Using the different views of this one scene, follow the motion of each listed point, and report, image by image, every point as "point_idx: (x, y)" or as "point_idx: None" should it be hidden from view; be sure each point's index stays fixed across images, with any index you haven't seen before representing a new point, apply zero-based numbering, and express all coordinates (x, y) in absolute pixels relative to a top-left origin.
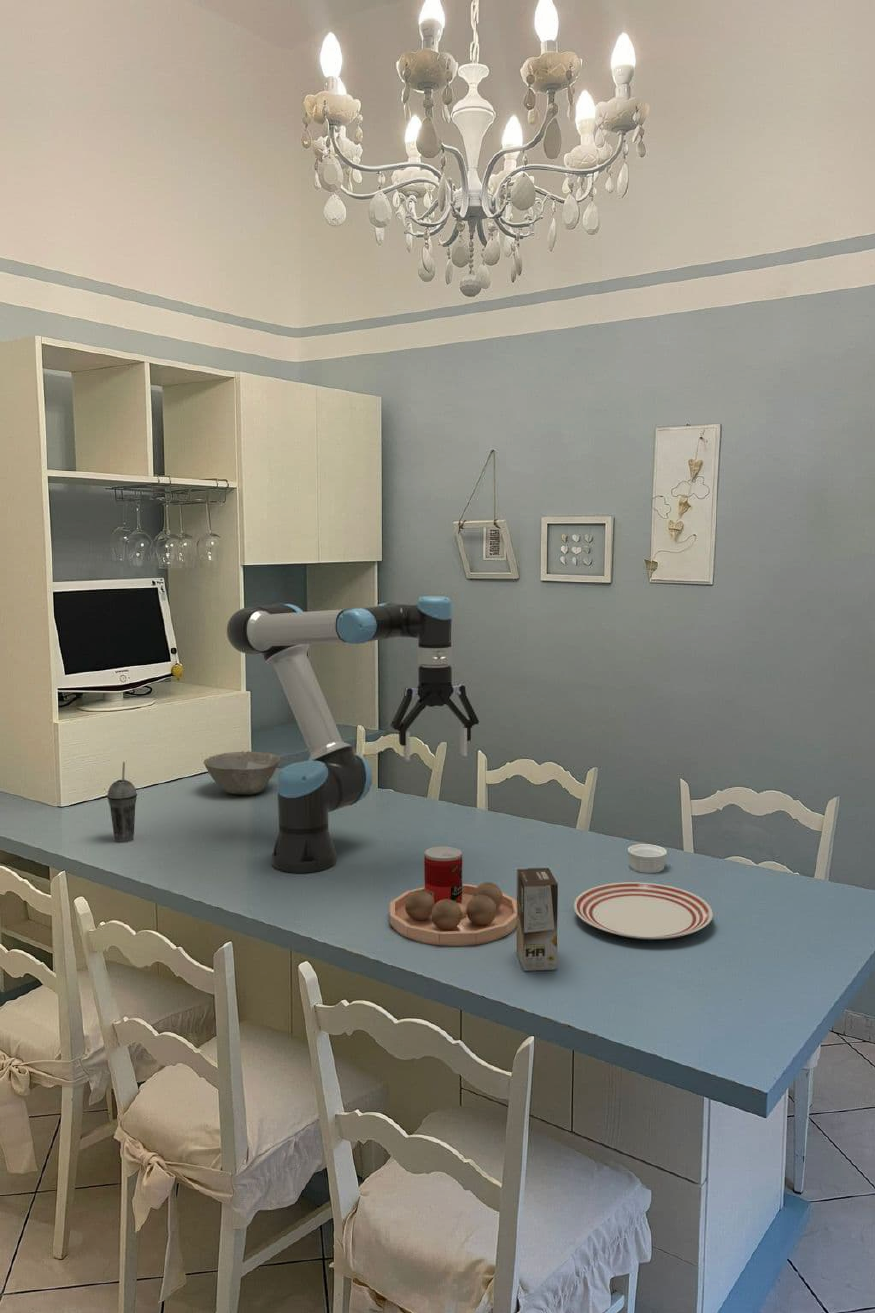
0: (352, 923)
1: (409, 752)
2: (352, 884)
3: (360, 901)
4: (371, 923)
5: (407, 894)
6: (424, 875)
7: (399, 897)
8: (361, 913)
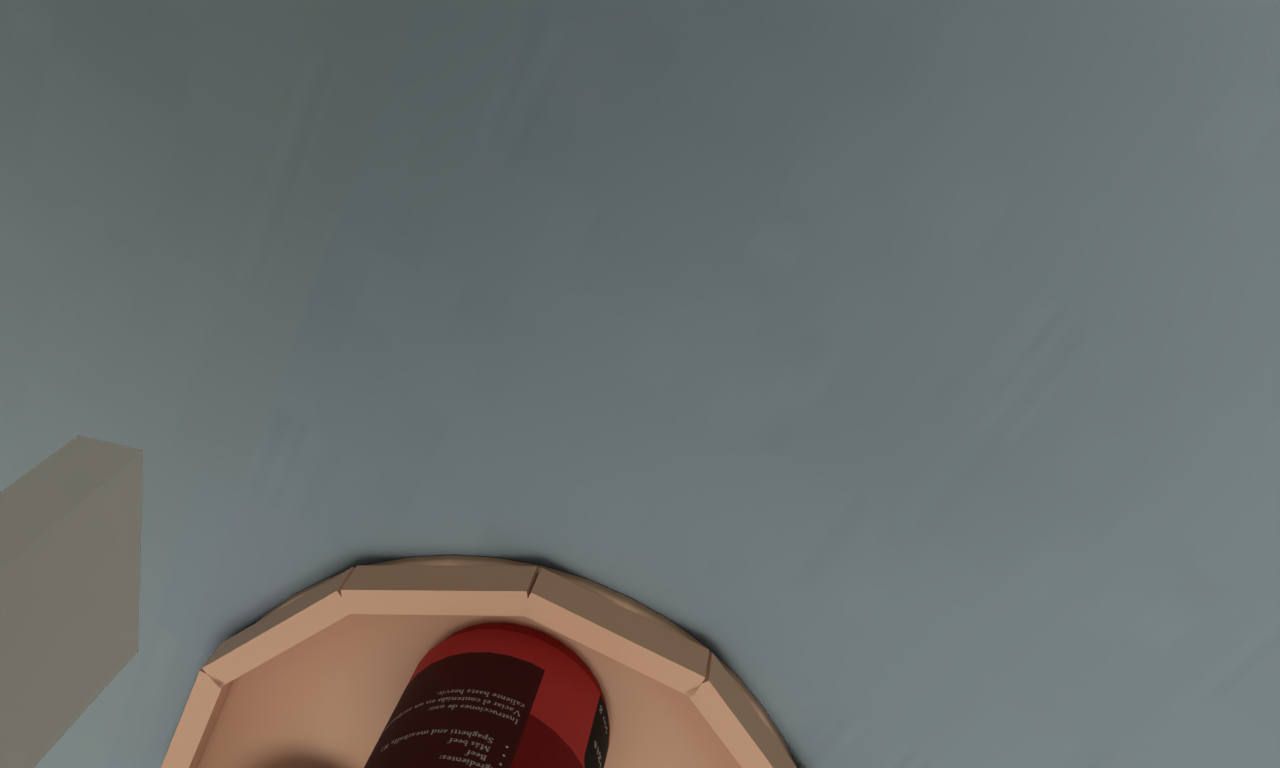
0: None
1: (41, 747)
2: (149, 138)
3: (128, 412)
4: None
5: (324, 627)
6: (374, 747)
7: (265, 645)
8: None
